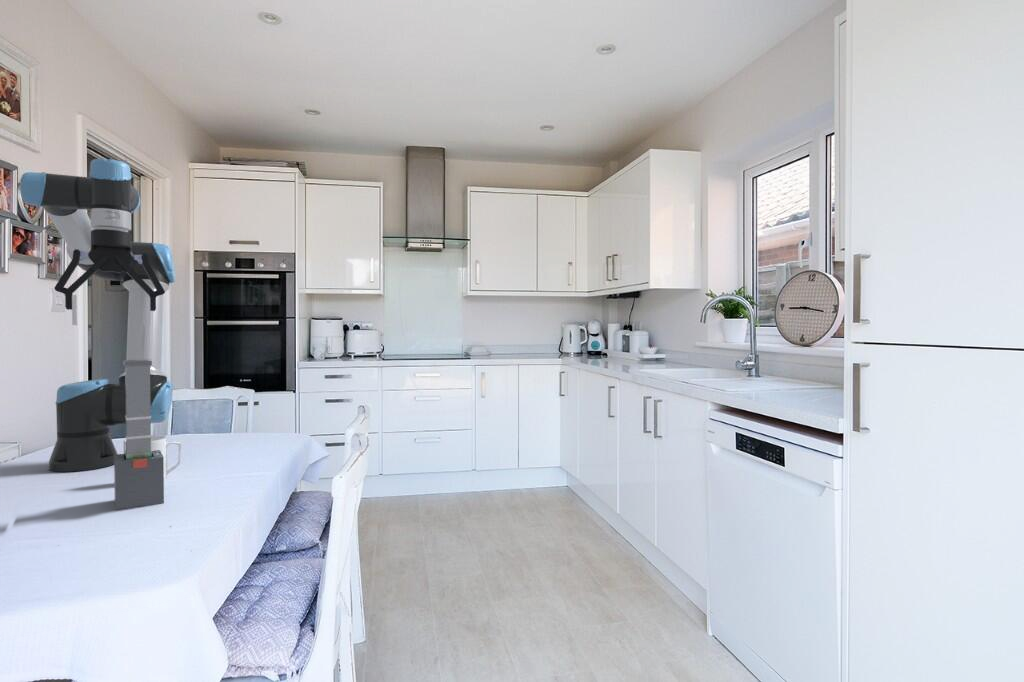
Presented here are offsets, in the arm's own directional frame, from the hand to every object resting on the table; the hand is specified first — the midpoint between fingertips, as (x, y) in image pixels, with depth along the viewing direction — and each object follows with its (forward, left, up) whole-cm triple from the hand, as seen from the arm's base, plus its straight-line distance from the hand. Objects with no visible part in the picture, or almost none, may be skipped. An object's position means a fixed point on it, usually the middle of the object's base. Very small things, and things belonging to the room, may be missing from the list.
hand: (112, 325), depth 130 cm
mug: (-7, +8, -39) cm, 40 cm away
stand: (+13, +4, -39) cm, 41 cm away
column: (+13, +4, -29) cm, 32 cm away
